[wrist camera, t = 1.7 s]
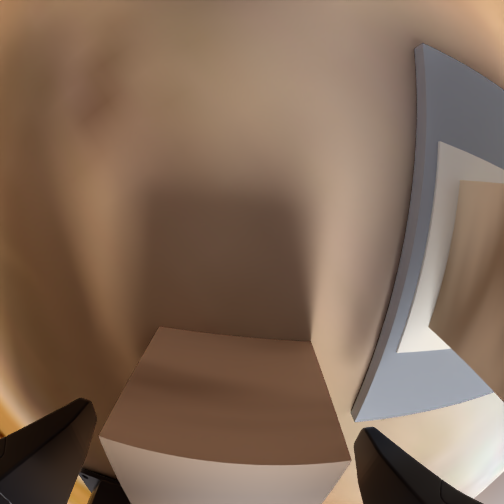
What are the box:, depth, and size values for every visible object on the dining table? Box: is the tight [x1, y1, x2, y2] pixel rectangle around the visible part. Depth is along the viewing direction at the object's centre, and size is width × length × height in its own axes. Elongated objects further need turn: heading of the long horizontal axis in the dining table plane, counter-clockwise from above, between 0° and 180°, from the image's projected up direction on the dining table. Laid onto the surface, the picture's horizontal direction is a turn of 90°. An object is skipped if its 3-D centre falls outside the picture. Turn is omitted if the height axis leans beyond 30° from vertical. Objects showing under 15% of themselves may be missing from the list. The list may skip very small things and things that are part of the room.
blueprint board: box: [351, 43, 504, 422], centre depth 8 cm, size 14×10×1 cm
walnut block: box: [99, 326, 352, 504], centre depth 7 cm, size 5×5×5 cm
